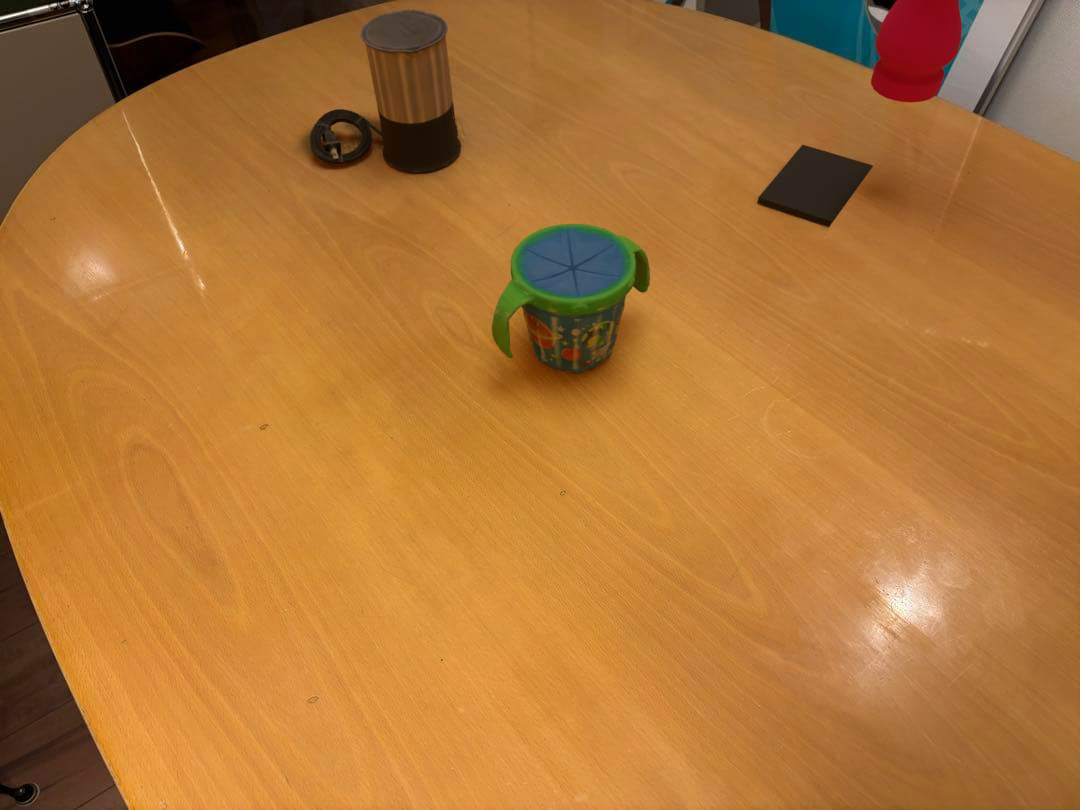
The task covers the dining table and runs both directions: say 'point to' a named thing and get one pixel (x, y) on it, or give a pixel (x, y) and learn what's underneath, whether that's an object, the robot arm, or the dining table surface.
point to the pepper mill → (916, 48)
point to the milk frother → (402, 96)
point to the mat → (814, 185)
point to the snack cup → (570, 293)
